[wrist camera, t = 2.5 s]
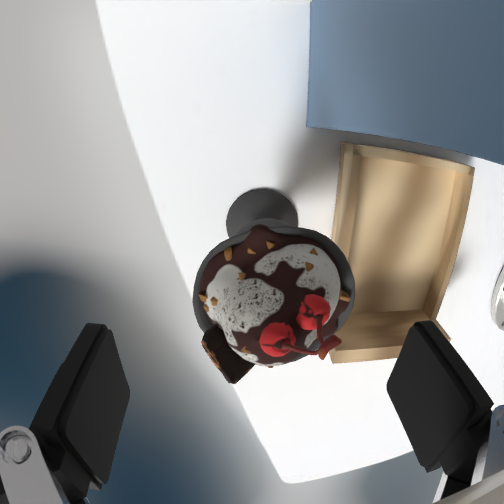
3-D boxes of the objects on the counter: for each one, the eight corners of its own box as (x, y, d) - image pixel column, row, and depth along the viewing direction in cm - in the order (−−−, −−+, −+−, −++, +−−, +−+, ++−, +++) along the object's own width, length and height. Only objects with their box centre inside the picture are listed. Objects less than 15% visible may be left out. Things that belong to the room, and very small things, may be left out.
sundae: (304, 170, 20) (422, 276, 6) (311, 260, 23) (383, 434, 9) (206, 182, 20) (135, 313, 7) (222, 271, 23) (202, 459, 9)
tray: (456, 161, 19) (499, 176, 15) (419, 315, 25) (445, 350, 20) (341, 142, 19) (371, 149, 14) (318, 320, 25) (332, 363, 20)
